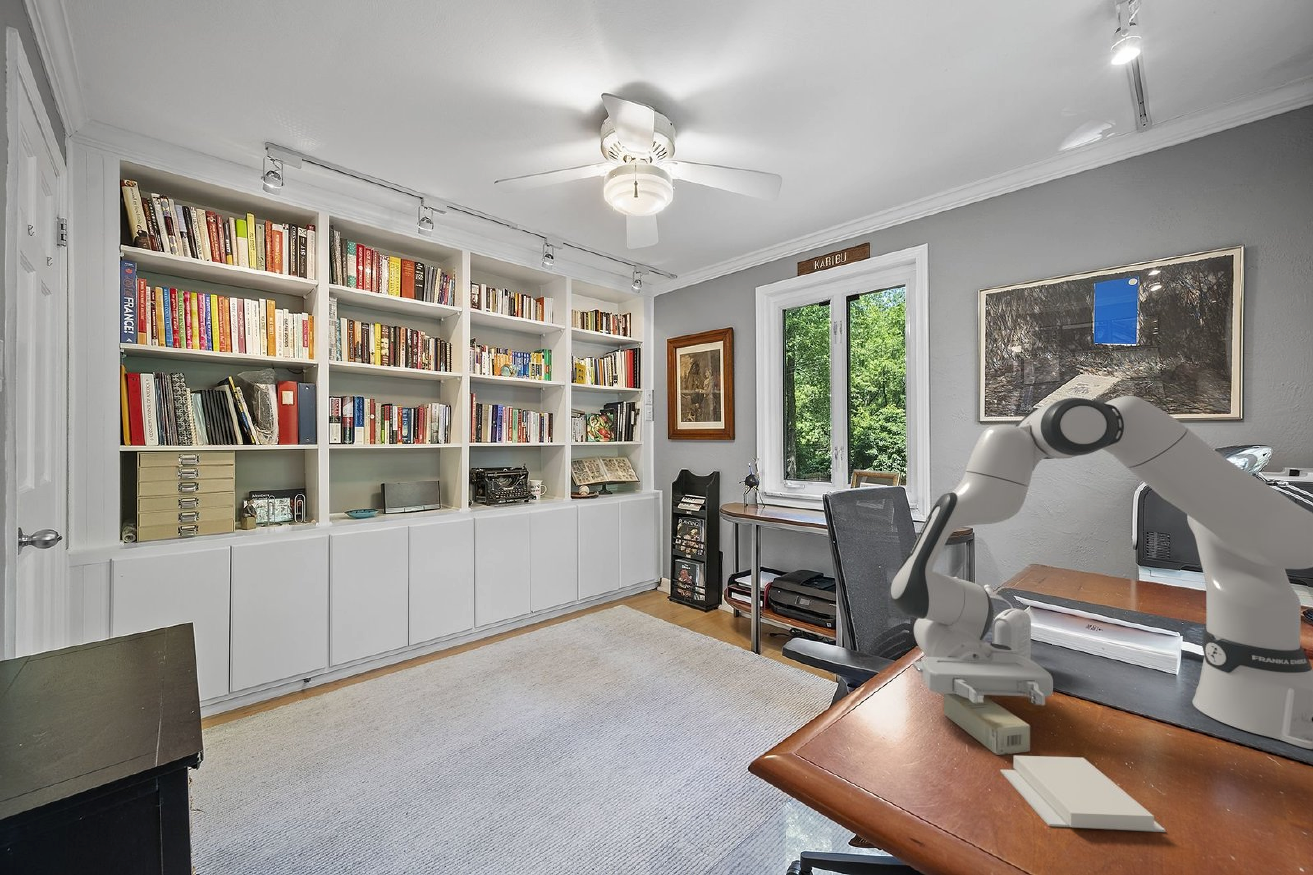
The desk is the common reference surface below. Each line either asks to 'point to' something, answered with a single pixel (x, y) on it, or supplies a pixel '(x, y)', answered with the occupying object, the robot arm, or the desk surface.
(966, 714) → the skincare box
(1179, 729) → the desk surface
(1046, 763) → the tile
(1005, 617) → the grey rounded block
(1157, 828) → the mat
